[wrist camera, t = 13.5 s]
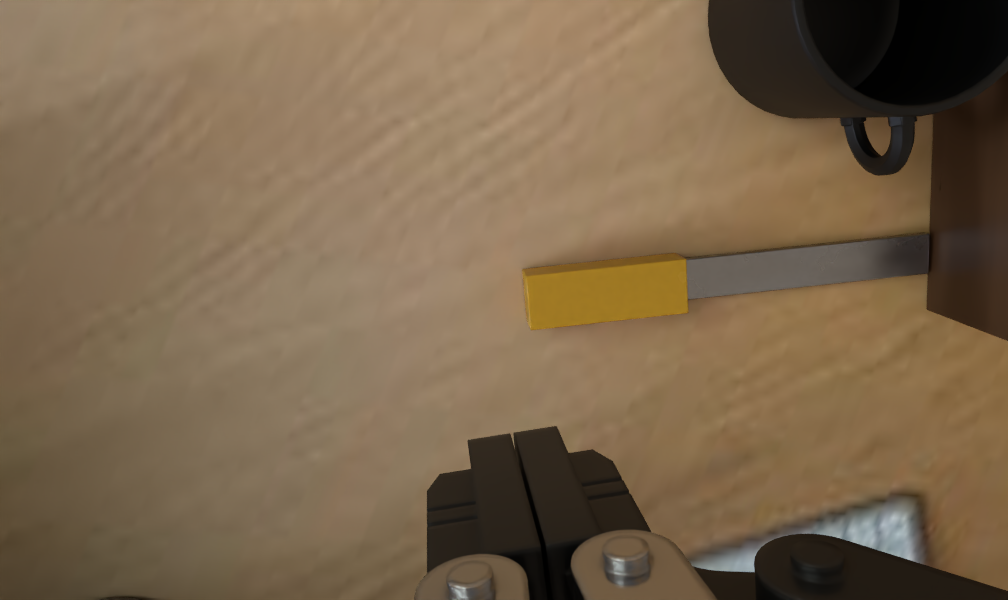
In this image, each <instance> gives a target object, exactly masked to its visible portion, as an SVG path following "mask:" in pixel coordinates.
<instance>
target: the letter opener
mask: <svg viewBox="0 0 1008 600" xmlns="http://www.w3.org/2000/svg"><path fill="white" fill-rule="evenodd" d="M928 263H929V234H928V233H914V234H905V235H896V236H886V237H877V238H867V239H858V240H848V241H839V242H830V243H820V244H811V245H801V246H792V247H783V248H773V249H764V250H754V251H745V252H736V253H726V254H717V255H707V256H698V257H689V258H683V257H681V256H680V255H678V254H676V253H668V254H659V255H649V256H640V257H631V258H621V259H612V260H602V261H593V262H583V263H574V264H564V265H555V266H546V267H536V268H527V269H522V274H523V285H524V296H525V307H526V319H527V322H528V325H529V327H530V329H531V330H538V329H547V328H556V327H565V326H574V325H583V324H593V323H602V322H611V321H620V320H629V319H638V318H647V317H656V316H665V315H674V314H683V313H688V300H689V299H698V298H707V297H717V296H726V295H735V294H744V293H753V292H762V291H772V290H781V289H790V288H799V287H808V286H817V285H827V284H836V283H845V282H854V281H863V280H872V279H882V278H891V277H900V276H909V275H918V274H927V273H928Z"/></svg>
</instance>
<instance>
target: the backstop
mask: <svg viewBox="0 0 1008 600" xmlns="http://www.w3.org/2000/svg"><path fill="white" fill-rule="evenodd" d="M927 310H929V311H932V312H934V313H937V314H940V315H942V316H945V317H947V318H950V319H953V320H955V321H958V322H960V323H963V324H965V325H968V326H971V327H973V328H976V329H978V330H981V331H984V332H986V333H989V334H991V335H994V336H996V337H999V338H1002V339H1004V340H1007V341H1008V71H1007V72H1006V73H1005V74H1004V75H1003V76H1002V77H1001V78H999V79H998V80H997V81H996V82H995V83H994V84H992V85H991V86H990V87H989V88H987V89H986V90H984V91H983V92H982V93H980V94H979V95H977V96H976V97H974V98H972V99H970V100H968V101H966V102H964V103H962V104H961V105H958V106H956V107H954V108H951V109H948V110H945V111H942V112H939V113H935V114H934V122H933V150H932V177H931V205H930V232H929V263H928V287H927Z"/></svg>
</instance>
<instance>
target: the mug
mask: <svg viewBox="0 0 1008 600" xmlns="http://www.w3.org/2000/svg"><path fill="white" fill-rule="evenodd" d="M708 26H709V36H710V41H711V45H712V49H713V52H714V55H715V57H716V60H717V62H718V65H719V67H720V69H721V71H722V72H723V74H724V75H725V77H726V79H727V80H728V81H729V83H730V84H731V85H732V86H733V87H734V89H735V90H736V91H737V92H738V93H739V94H740V95H741V96H743V97H744V98H745V99H746V100H748V101H749V102H750V103H752V104H753V105H755V106H757V107H759V108H760V109H762V110H764V111H767V112H769V113H772V114H775V115H779V116H783V117H789V118H840V121H841V126H844V129H845V133H846V138H847V141H848V144H849V147H850V149H851V151H852V153H853V155H854V157H855V158H856V160H857V161H858V163H859V164H860V165H861V166H862V167H863V168H864V169H865V170H866V171H868V172H869V173H872V174H874V175H878V176H880V175H890V174H894V173H897V172H898V171H899V170H900V169H901V168H902V167H903V166H904V165H905V163H906V162H907V160H908V158H909V155H910V153H911V150H912V147H913V143H914V134H915V122H916V121H917V117H916V116H923V115H929V114H935V113H939V112H942V111H945V110H948V109H951V108H954V107H956V106H958V105H961V104H962V103H964V102H966V101H968V100H970V99H972V98H974V97H976V96H977V95H979V94H980V93H982V92H983V91H984V90H986V89H987V88H989V87H990V86H991V85H992V84H994V83H995V82H996V81H997V80H998V79H999V78H1001V77H1002V76H1003V75H1004V74H1005V73H1006V72H1007V71H1008V0H709V7H708ZM866 117H888V122H889V126H890V127H891V139H890V144H889V147H888V150H887V151H886V153H885V154H884V155H883V156H881V155H880V154H878V153H877V152H876V151H875V149H874V148H873V147H872V145H871V143H870V141H869V139H868V137H867V134H866V131H865V127H864V121H866Z"/></svg>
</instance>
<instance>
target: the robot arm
mask: <svg viewBox="0 0 1008 600" xmlns="http://www.w3.org/2000/svg"><path fill="white" fill-rule="evenodd" d="M514 446H515V449H514ZM468 448H469V455H470V463H471V469H468V470H462V471H456V472H450V473H443V474H439V476H438V477H437V478H436V480H435V481H434V482H433V484H432V485H431V487H430V488H429V489H428V491H427V574H426V575H425V576H424V577H423V579H422V580H421V581H420V582H419V584H418V586H417V588H416V592H415V597H414V600H1008V591H1006V590H1002V589H999V588H996V587H993V586H990V585H986V584H983V583H980V582H977V581H974V580H971V579H967V578H964V577H961V576H958V575H955V574H951V573H948V572H945V571H942V570H939V569H936V568H932V567H929V566H926V565H923V564H920V563H916V562H913V561H910V560H907V559H904V558H901V557H897V556H894V555H891V554H888V553H885V552H881V551H878V550H875V549H872V548H869V547H866V546H862V545H859V544H856V543H853V542H850V541H846V540H843V539H840V538H836V537H832V536H826V535H819V534H795V535H788V536H783V537H780V538H777V539H774V540H772V541H770V542H768V543H766V544H765V545H764V546H762V547H761V548H760V550H759V551H758V552H757V554H756V556H755V561H754V568H755V572H729V571H713V570H706V569H701V568H697V567H693V566H692V565H691V563H690V562H689V561H688V559H687V558H686V557H685V555H684V554H683V553H682V551H681V550H680V549H679V547H678V546H677V545H676V544H675V543H673V542H672V541H671V540H669V539H667V538H665V537H663V536H661V535H658V534H656V533H652V532H651V530H650V528H649V526H648V525H647V523H646V521H645V519H644V517H643V516H642V514H641V512H640V510H639V508H638V506H637V505H636V503H635V501H634V499H633V497H632V496H631V494H629V490H628V488H627V486H626V485H625V483H624V481H623V480H622V478H621V475H620V474H619V472H618V470H617V468H616V466H615V465H614V463H613V461H611V460H610V459H608V458H606V457H605V456H603V455H601V454H600V453H598V452H596V451H594V450H586V451H580V452H574V453H568V451H567V449H566V447H565V444H564V442H563V440H562V437H561V435H560V433H559V430H558V428H557V426H553V427H547V428H540V429H534V430H528V431H521V432H515V433H514V445H513V442H512V438H511V434H510V433H509V434H503V435H497V436H490V437H484V438H477V439H471V440H468ZM101 600H140V599H133V598H107V599H101Z"/></svg>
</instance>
